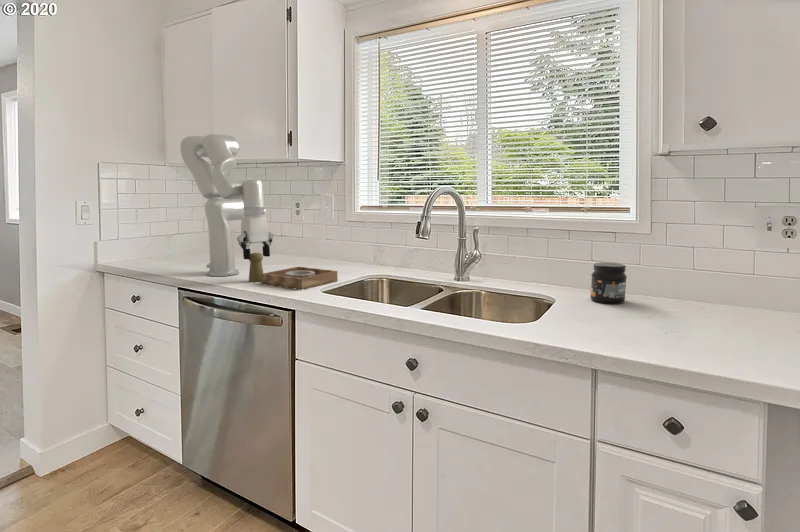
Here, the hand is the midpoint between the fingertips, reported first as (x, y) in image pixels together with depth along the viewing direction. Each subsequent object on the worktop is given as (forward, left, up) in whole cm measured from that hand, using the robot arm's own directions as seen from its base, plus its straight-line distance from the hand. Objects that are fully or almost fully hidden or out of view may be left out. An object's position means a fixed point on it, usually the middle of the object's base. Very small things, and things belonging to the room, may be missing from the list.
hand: (257, 257), depth 198 cm
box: (+15, +7, -9) cm, 19 cm away
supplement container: (+120, +37, -10) cm, 126 cm away
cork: (-1, 0, -10) cm, 9 cm away
